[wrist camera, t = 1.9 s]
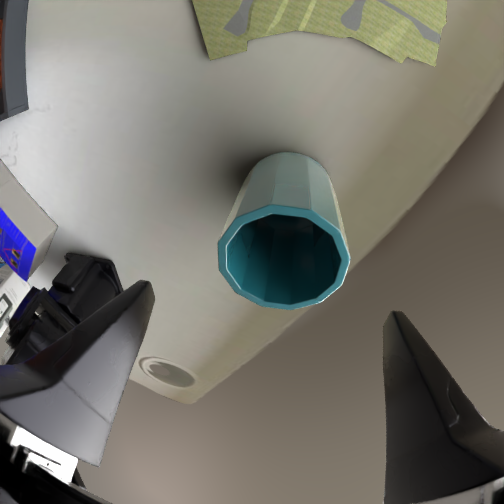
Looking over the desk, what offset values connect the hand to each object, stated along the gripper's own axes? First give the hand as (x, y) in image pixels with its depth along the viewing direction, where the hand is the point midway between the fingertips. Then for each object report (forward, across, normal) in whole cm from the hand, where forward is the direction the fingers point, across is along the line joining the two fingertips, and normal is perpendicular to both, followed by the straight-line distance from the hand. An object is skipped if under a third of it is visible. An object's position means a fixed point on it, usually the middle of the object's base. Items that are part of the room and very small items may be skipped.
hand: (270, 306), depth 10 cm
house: (+10, +30, +3) cm, 31 cm away
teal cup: (+10, 0, 0) cm, 10 cm away
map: (+10, +1, -13) cm, 16 cm away
